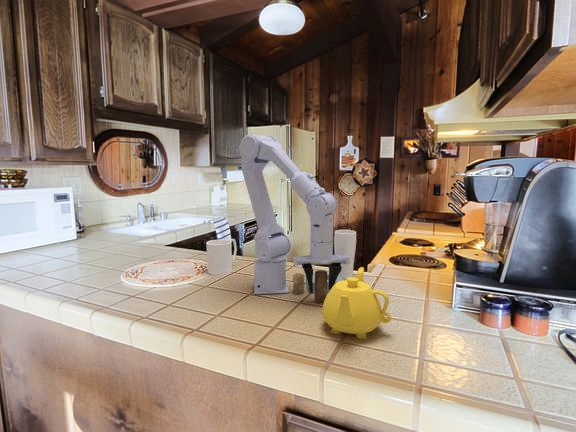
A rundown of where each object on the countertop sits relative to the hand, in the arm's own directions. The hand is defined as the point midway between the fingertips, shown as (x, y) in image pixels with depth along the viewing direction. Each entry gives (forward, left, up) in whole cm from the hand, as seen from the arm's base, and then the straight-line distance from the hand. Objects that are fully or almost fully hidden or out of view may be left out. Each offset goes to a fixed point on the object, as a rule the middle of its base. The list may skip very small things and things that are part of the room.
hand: (320, 290), depth 90 cm
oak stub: (-5, +7, -3) cm, 9 cm away
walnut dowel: (0, 0, -3) cm, 3 cm away
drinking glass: (+11, +18, -3) cm, 21 cm away
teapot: (+5, -16, -3) cm, 17 cm away
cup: (-28, +30, -3) cm, 41 cm away
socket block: (+3, +10, -3) cm, 11 cm away
